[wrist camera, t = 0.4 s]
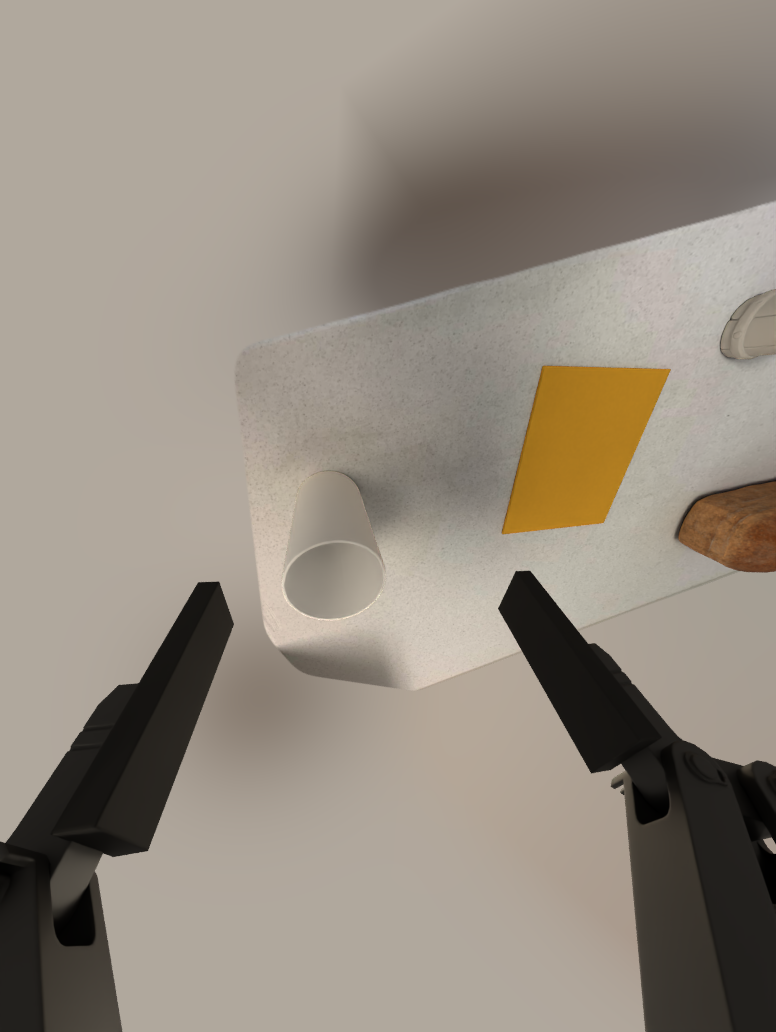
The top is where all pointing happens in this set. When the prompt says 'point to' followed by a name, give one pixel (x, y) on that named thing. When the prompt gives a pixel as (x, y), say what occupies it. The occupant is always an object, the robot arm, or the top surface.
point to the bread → (735, 528)
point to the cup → (331, 551)
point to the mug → (752, 328)
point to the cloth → (579, 444)
